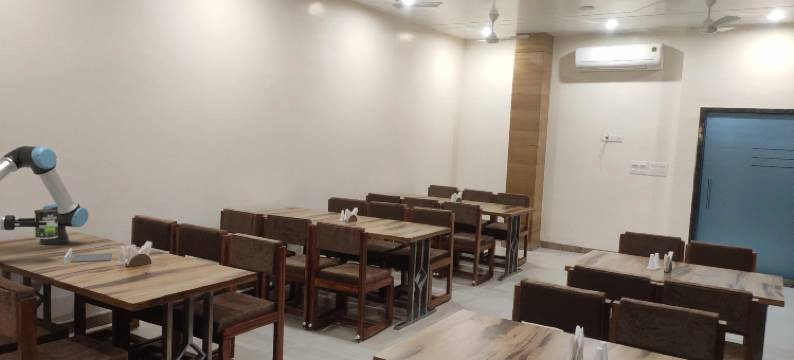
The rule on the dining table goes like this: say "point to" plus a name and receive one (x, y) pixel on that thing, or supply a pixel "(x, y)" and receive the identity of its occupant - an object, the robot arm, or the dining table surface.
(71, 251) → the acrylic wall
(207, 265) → the dining table surface
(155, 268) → the dining table surface
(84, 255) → the mat
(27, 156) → the robot arm
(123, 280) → the dining table surface
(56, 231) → the coffee can
